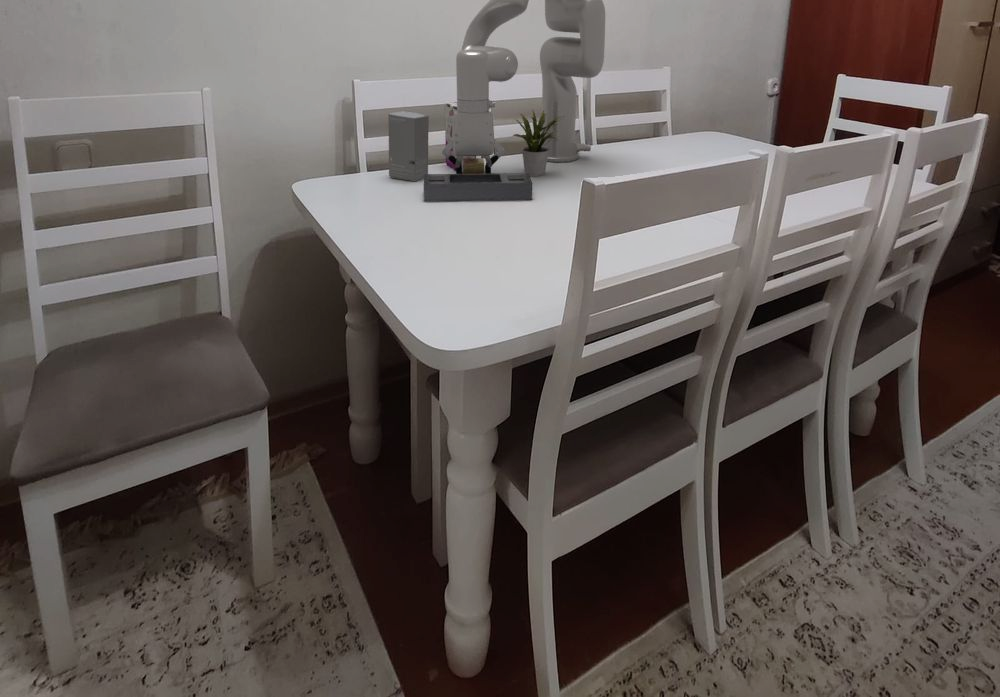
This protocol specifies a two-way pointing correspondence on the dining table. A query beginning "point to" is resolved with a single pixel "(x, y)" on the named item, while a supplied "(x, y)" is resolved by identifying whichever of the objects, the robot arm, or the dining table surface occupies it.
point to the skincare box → (408, 145)
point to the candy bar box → (449, 114)
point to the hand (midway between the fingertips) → (473, 181)
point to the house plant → (536, 145)
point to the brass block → (473, 166)
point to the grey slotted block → (477, 187)
